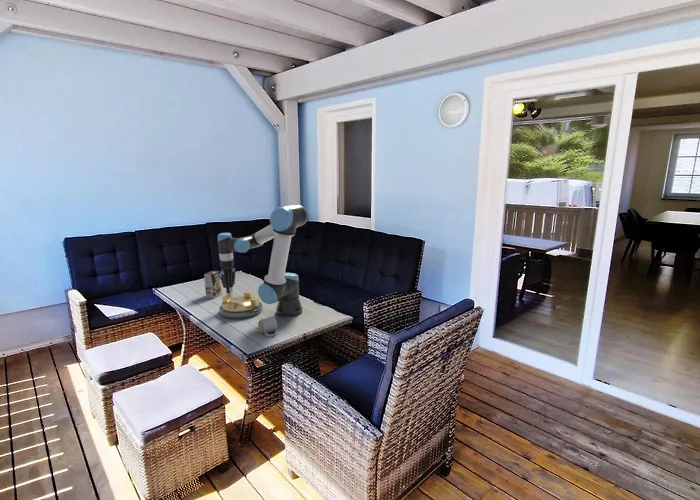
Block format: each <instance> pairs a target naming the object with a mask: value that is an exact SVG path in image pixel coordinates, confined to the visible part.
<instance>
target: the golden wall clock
mask: <svg viewBox="0 0 700 500" xmlns="http://www.w3.org/2000/svg"><path fill="white" fill-rule="evenodd" d="M259 302H260V297H255V296H253V291H245V292H243V296H242V295H240V296H235V297H232V298H231V295H227V294H226V295H223V296H222V303H221V306H222V310H223V311H225V312H228V313H244V312H249V311H252V310H255V309H257V308H258V307H259V305H260V304H259Z"/></svg>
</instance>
